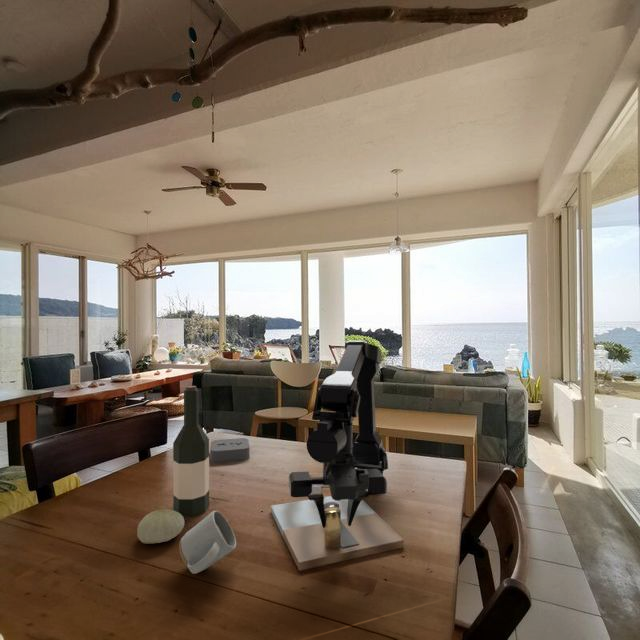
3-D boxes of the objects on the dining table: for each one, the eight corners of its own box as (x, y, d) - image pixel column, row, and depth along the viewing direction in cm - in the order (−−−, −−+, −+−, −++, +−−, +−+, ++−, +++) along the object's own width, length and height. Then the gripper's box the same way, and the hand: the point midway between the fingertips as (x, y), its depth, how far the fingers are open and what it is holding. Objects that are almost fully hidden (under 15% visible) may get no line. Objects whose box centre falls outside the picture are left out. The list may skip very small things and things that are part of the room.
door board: (354, 497, 102) (354, 491, 102) (403, 547, 80) (403, 538, 80) (270, 511, 95) (270, 504, 95) (299, 570, 72) (299, 561, 72)
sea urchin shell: (171, 538, 78) (145, 508, 79) (148, 566, 79) (122, 536, 80) (195, 517, 87) (171, 490, 88) (174, 542, 88) (150, 515, 89)
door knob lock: (323, 515, 89) (323, 486, 89) (338, 515, 89) (338, 486, 89) (323, 548, 76) (323, 514, 76) (341, 548, 76) (341, 514, 76)
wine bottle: (216, 505, 99) (215, 385, 99) (192, 520, 91) (192, 390, 91) (190, 499, 102) (190, 383, 102) (165, 513, 94) (165, 388, 95)
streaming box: (210, 465, 127) (210, 451, 127) (211, 453, 139) (211, 440, 139) (250, 462, 130) (250, 448, 130) (247, 450, 142) (247, 437, 142)
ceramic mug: (203, 570, 75) (185, 532, 78) (240, 544, 76) (222, 507, 79) (181, 585, 65) (162, 541, 68) (225, 555, 66) (204, 512, 69)
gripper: (294, 462, 68) (292, 552, 68) (397, 458, 71) (396, 545, 71) (289, 443, 79) (287, 521, 79) (378, 440, 82) (377, 515, 82)
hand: (336, 525), depth 78 cm, fingers open, 5 cm apart
